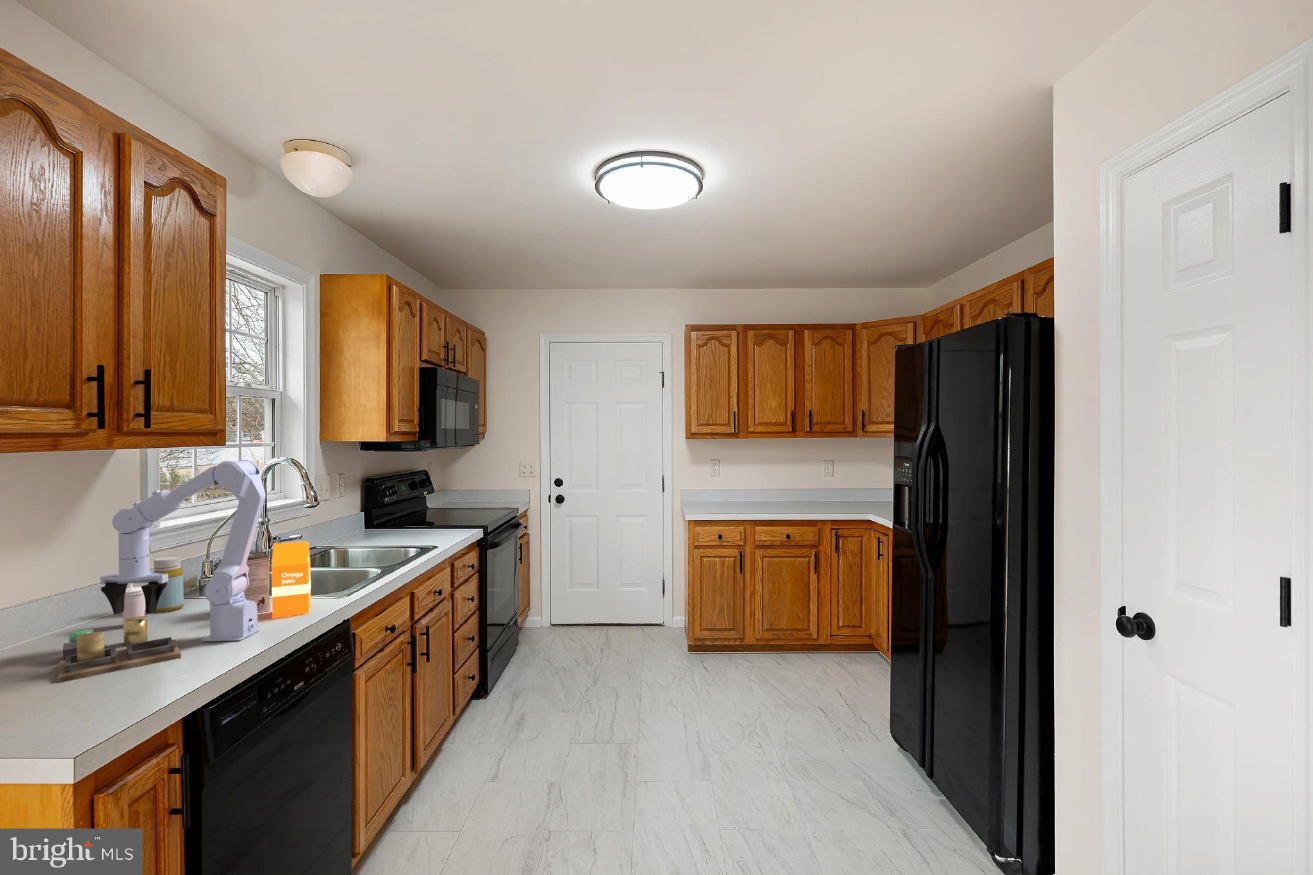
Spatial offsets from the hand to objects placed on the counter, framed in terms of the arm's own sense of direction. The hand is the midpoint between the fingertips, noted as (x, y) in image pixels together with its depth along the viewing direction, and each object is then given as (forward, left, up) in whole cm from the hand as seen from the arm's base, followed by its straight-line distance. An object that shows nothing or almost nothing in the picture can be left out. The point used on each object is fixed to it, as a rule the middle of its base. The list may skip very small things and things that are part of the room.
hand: (134, 612), depth 150 cm
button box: (+5, +9, -7) cm, 13 cm away
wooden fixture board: (-7, +13, -7) cm, 17 cm away
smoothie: (+12, -15, -8) cm, 21 cm away
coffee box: (-12, -27, -8) cm, 31 cm away
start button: (+5, +9, -3) cm, 11 cm away
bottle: (+14, -30, -8) cm, 34 cm away
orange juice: (-25, -23, -8) cm, 35 cm away
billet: (0, 0, -7) cm, 7 cm away
